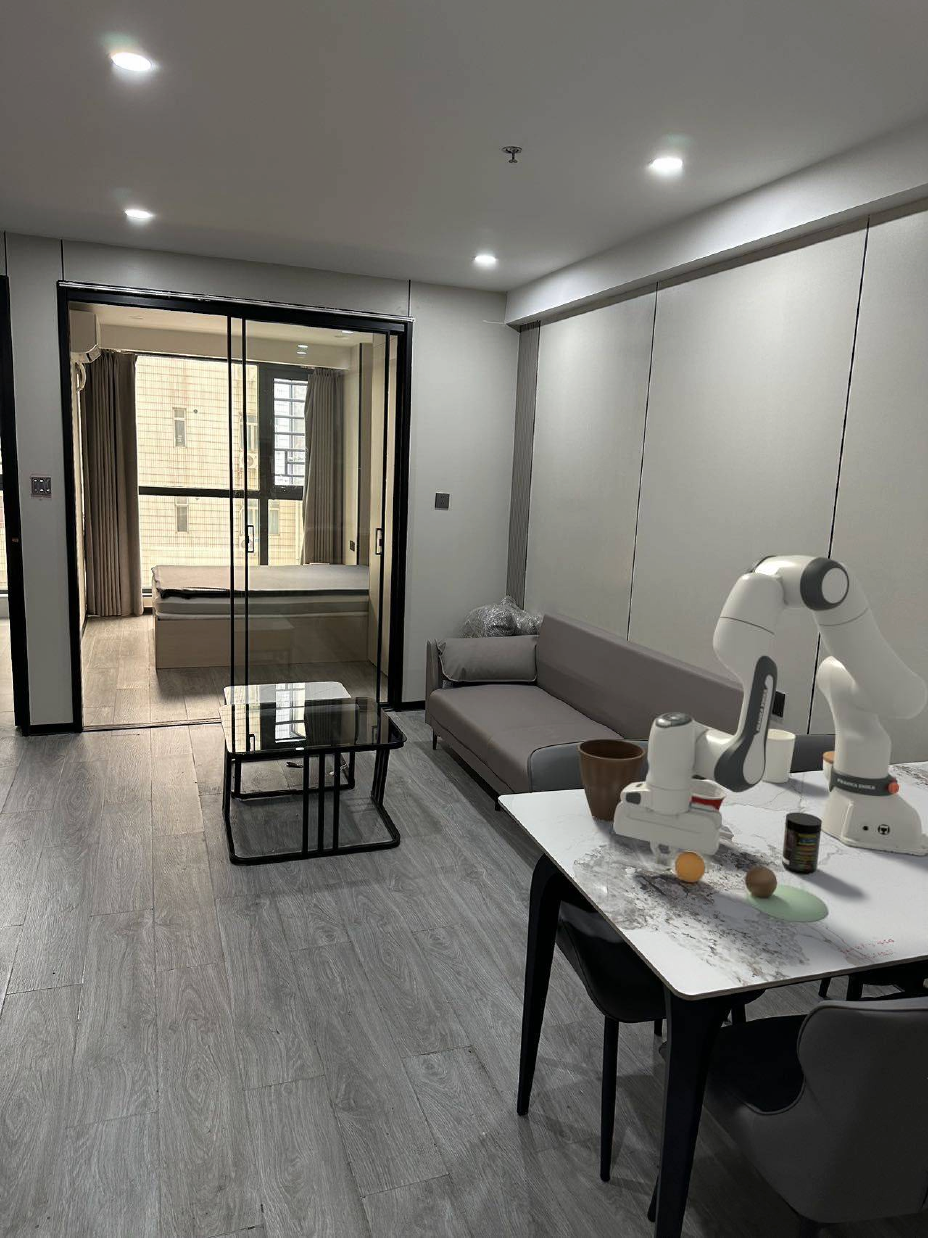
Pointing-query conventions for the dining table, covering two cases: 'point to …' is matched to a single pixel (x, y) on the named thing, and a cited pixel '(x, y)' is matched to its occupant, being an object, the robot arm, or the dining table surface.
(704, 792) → the plastic cup
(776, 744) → the white tapered cylinder
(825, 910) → the sage mark
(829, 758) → the lidded jar
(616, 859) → the dining table surface
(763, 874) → the walnut ball
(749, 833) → the dining table surface
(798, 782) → the dining table surface
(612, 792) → the plant pot
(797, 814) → the supplement container
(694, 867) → the orange ball
